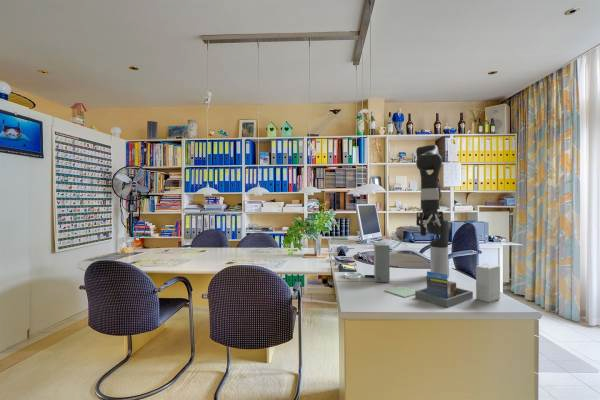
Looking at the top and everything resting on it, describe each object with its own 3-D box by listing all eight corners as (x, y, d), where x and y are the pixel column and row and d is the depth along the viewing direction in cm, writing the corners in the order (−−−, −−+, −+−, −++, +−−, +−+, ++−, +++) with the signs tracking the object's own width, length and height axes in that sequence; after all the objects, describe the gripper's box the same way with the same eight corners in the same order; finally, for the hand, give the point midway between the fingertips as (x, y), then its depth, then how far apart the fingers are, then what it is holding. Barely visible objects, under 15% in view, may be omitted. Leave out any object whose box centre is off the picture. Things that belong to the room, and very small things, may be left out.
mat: (400, 286, 149) (400, 285, 149) (421, 292, 139) (421, 291, 139) (384, 291, 142) (384, 290, 142) (404, 297, 132) (404, 296, 132)
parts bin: (441, 289, 143) (440, 283, 143) (472, 298, 130) (472, 291, 130) (415, 297, 132) (415, 290, 132) (447, 307, 120) (447, 300, 120)
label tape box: (450, 300, 128) (450, 272, 128) (447, 303, 125) (447, 274, 125) (430, 296, 134) (429, 269, 134) (426, 298, 131) (426, 271, 131)
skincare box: (487, 295, 133) (486, 263, 133) (501, 299, 128) (500, 265, 128) (475, 298, 130) (474, 265, 130) (489, 302, 124) (488, 267, 124)
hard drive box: (390, 283, 156) (389, 245, 156) (375, 282, 158) (374, 245, 158) (387, 275, 171) (386, 241, 171) (373, 275, 173) (373, 241, 173)
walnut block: (445, 293, 138) (445, 280, 138) (456, 295, 134) (456, 282, 134) (439, 294, 136) (439, 282, 136) (450, 297, 131) (450, 284, 131)
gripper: (433, 198, 137) (434, 233, 137) (411, 199, 131) (412, 235, 131) (448, 198, 131) (448, 234, 130) (425, 198, 124) (425, 236, 124)
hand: (430, 235), depth 131 cm, fingers open, 8 cm apart
